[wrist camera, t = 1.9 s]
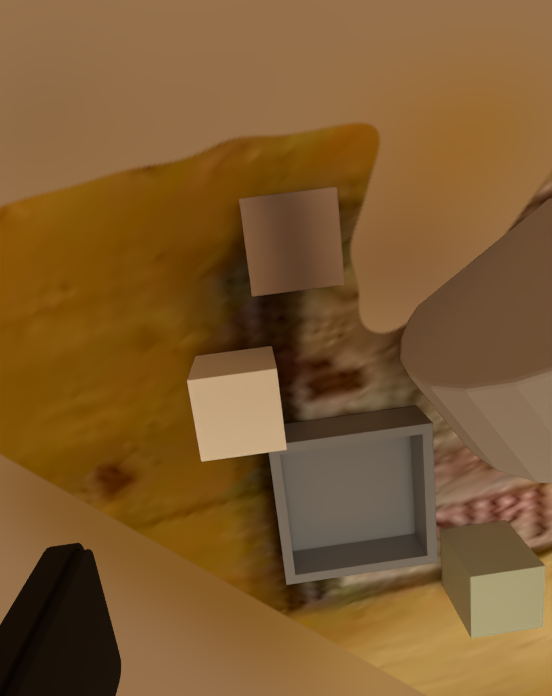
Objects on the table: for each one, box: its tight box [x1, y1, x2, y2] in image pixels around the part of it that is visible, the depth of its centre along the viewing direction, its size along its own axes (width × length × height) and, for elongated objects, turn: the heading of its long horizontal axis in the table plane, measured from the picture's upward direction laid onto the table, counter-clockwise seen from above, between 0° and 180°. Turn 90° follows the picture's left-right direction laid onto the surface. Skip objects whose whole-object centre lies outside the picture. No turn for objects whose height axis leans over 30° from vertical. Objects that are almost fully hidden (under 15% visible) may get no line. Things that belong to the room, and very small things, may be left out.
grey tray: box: [269, 406, 437, 585], centre depth 39 cm, size 13×13×4 cm
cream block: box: [187, 346, 287, 462], centre depth 35 cm, size 6×6×6 cm
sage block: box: [440, 520, 545, 638], centre depth 41 cm, size 6×6×6 cm
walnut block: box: [239, 187, 345, 296], centre depth 33 cm, size 6×6×6 cm
